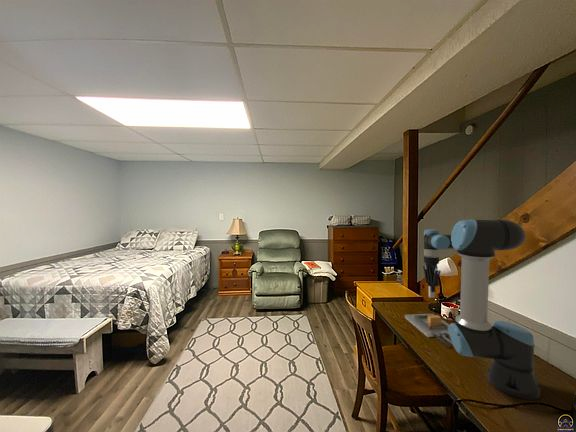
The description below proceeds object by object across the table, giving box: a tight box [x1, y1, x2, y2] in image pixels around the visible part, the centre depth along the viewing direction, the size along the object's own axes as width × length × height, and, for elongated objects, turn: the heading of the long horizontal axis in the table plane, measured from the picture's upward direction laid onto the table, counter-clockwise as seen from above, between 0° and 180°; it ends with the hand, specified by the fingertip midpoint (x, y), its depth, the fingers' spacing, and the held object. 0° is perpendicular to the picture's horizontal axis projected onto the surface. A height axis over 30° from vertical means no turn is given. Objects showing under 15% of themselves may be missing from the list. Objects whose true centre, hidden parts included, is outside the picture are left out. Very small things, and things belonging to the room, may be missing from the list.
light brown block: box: [428, 314, 442, 326], centre depth 141 cm, size 3×6×5 cm, turn 92°
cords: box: [434, 335, 453, 349], centre depth 128 cm, size 11×8×1 cm
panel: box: [404, 313, 450, 338], centre depth 145 cm, size 24×18×4 cm
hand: (431, 297), depth 143 cm, fingers closed
